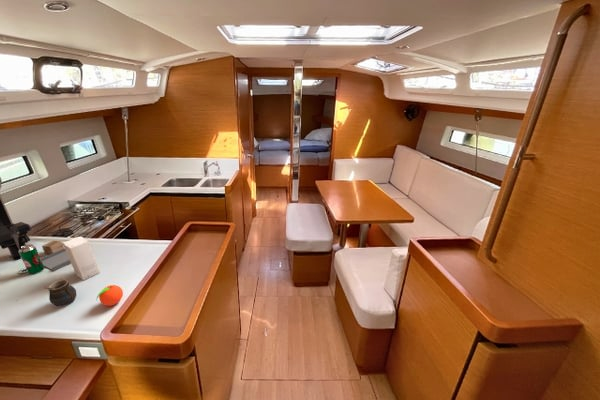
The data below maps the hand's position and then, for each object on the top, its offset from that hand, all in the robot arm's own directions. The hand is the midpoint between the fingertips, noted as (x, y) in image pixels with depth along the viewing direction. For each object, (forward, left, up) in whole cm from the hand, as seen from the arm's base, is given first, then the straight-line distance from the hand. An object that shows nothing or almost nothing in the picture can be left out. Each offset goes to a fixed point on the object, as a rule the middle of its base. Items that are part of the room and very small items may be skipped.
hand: (5, 255), depth 103 cm
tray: (-1, +16, -12) cm, 20 cm away
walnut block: (-11, +17, -12) cm, 24 cm away
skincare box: (+21, +14, -12) cm, 29 cm away
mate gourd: (+32, +1, -12) cm, 35 cm away
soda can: (-1, +6, -12) cm, 14 cm away
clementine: (+48, +8, -12) cm, 51 cm away
